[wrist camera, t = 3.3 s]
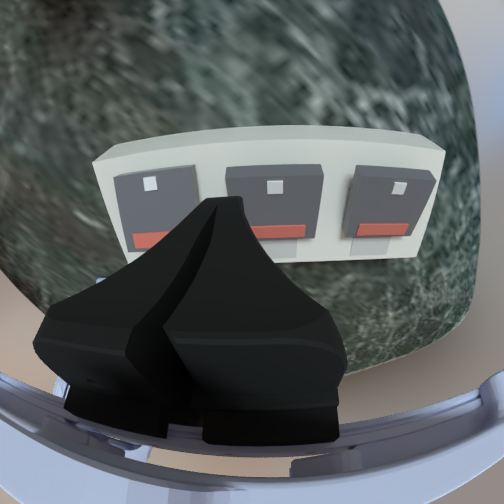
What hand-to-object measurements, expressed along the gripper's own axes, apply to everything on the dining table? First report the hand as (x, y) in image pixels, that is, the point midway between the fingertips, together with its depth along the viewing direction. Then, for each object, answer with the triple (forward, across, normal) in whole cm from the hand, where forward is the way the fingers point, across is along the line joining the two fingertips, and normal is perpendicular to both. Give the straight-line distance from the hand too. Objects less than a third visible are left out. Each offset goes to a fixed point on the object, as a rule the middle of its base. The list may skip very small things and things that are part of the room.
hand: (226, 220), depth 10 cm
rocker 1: (+6, +5, +2) cm, 8 cm away
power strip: (+10, -2, +4) cm, 11 cm away
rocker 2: (+6, -2, +2) cm, 6 cm away
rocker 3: (+6, -9, +3) cm, 11 cm away
